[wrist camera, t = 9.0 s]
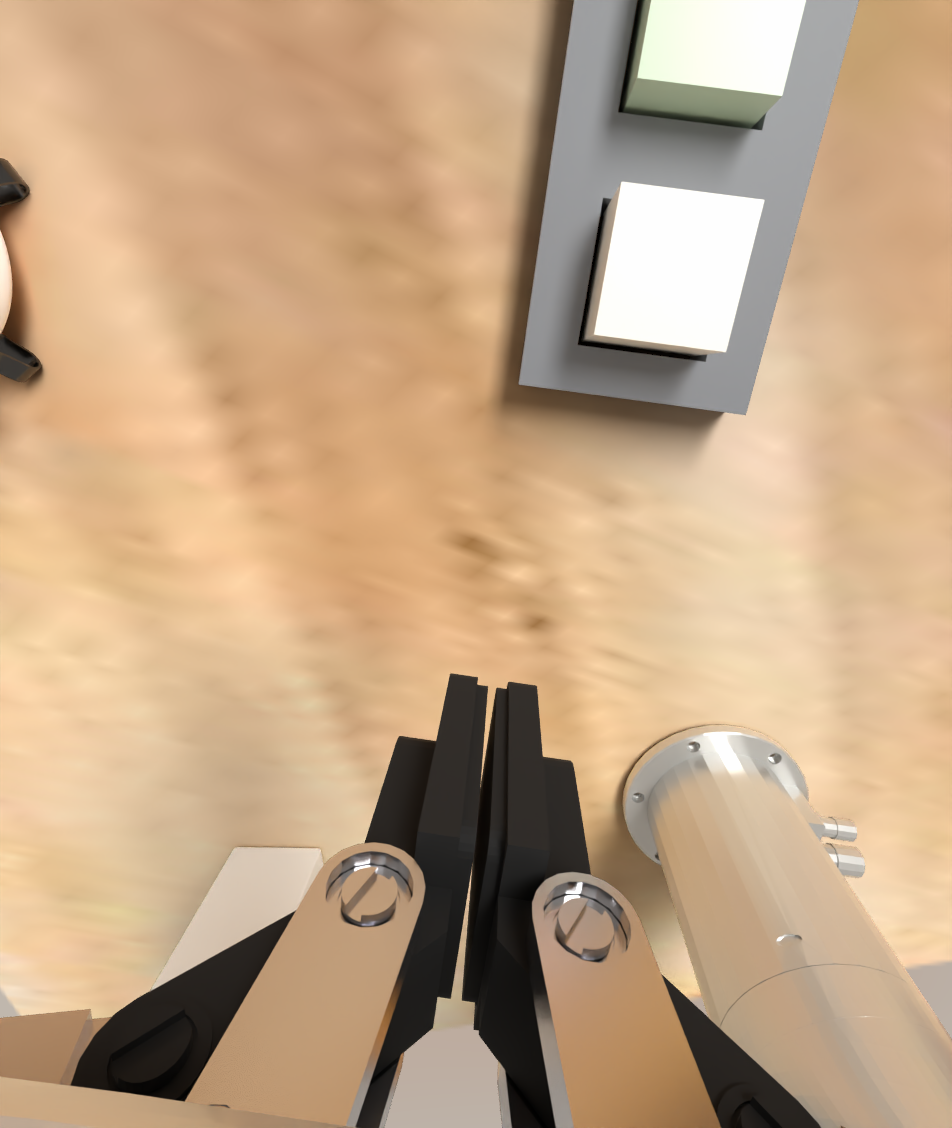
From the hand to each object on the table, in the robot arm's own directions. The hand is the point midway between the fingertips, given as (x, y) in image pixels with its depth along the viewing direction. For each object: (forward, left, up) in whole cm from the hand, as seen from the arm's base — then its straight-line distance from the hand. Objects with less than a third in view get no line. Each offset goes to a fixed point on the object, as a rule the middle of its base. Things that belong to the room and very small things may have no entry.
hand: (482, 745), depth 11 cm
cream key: (-6, -12, -24) cm, 27 cm away
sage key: (-6, -22, -25) cm, 34 cm away
